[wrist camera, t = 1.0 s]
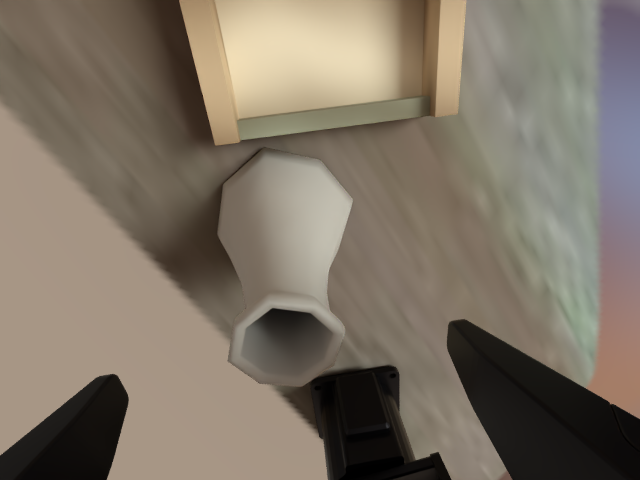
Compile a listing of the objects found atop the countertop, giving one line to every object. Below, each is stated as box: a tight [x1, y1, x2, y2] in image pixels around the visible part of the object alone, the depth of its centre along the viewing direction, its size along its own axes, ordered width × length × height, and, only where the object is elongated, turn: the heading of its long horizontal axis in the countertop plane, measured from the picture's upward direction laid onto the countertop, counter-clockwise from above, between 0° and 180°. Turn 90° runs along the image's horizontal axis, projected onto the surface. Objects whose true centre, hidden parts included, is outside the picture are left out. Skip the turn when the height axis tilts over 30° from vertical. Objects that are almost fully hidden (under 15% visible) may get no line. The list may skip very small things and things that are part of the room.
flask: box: [217, 147, 353, 387], centre depth 13 cm, size 7×7×10 cm
